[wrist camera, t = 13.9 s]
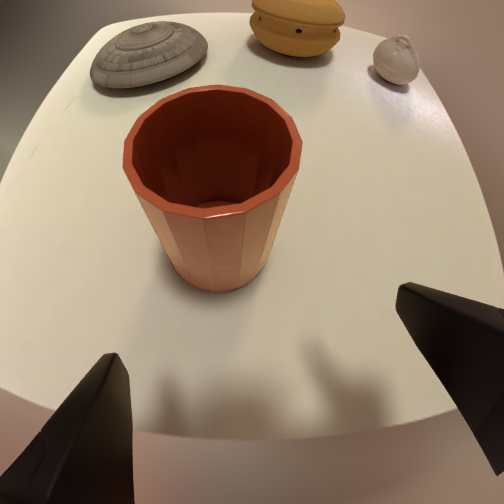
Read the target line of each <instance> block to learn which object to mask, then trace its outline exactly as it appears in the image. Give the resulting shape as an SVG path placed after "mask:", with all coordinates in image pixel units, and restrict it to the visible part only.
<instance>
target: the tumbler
mask: <svg viewBox="0 0 504 504" xmlns="http://www.w3.org/2000/svg"><path fill="white" fill-rule="evenodd" d="M301 150H302V140H301V138H300V135H299V133H298V130H297V128H296V125H295V123H294V121H293V119H292V117H291V116H290V115H289V114H287V113H286V112H285V111H284V110H283V109H282V108H281V107H280V106H279V105H278V104H277V103H276V102H275V101H273V100H272V99H270V98H267V97H265V96H263V95H261V94H258V93H256V92H254V91H251V90H249V89H246V88H240V87H233V86H225V85H210V86H201V87H194V88H188V89H185V90H182V91H180V92H177V93H175V94H172V95H170V96H167V97H165V98H163V99H161V100H159V101H158V102H157V103H155V104H154V105H153V106H151V107H150V108H149V109H148V110H147V111H145V112H144V113H143V114H142V115H141V116H139V118H138V119H137V120H136V122H135V123H134V125H133V127H132V129H131V130H130V132H129V134H128V135H127V137H126V139H125V141H124V152H123V170H124V172H125V174H126V176H127V178H128V180H129V182H130V184H131V186H132V188H133V190H134V192H135V194H136V196H137V198H138V200H139V202H140V204H141V206H142V208H143V210H144V212H145V214H146V216H147V218H148V220H149V221H150V223H151V225H152V227H153V229H154V231H155V233H156V235H157V236H158V238H159V240H160V242H161V244H162V246H163V247H164V249H165V251H166V253H167V255H168V257H169V258H170V260H171V262H172V263H173V265H174V267H175V269H176V270H177V272H178V274H179V275H180V276H182V278H183V279H185V280H186V281H187V282H188V283H190V284H191V285H193V286H195V287H197V288H199V289H202V290H206V291H211V292H225V291H231V290H234V289H237V288H240V287H242V286H244V285H245V284H247V283H248V282H250V281H251V280H252V279H253V278H255V277H256V276H257V274H258V273H259V272H260V271H261V269H262V267H263V266H264V264H265V262H266V261H267V259H268V256H269V253H270V250H271V247H272V244H273V242H274V239H275V236H276V233H277V230H278V227H279V225H280V222H281V219H282V216H283V213H284V210H285V207H286V205H287V202H288V199H289V196H290V193H291V190H292V187H293V184H294V181H295V179H296V176H297V173H298V170H299V165H300V157H301Z"/></svg>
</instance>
